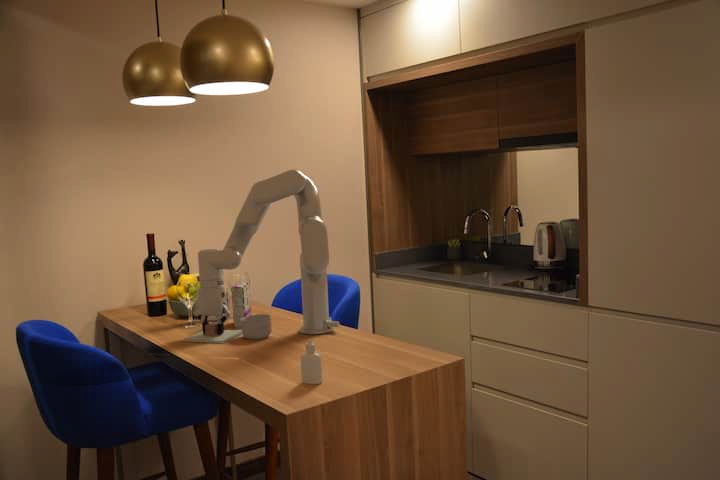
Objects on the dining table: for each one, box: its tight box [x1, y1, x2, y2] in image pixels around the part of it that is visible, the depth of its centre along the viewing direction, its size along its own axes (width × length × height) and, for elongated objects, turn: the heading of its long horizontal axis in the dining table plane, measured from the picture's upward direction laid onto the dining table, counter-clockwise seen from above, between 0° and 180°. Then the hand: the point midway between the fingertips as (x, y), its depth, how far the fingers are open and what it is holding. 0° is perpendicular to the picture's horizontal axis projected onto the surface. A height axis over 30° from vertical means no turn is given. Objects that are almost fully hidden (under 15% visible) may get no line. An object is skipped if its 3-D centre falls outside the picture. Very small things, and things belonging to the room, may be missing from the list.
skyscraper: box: [207, 269, 233, 322], centre depth 259 cm, size 8×8×28 cm
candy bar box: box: [230, 281, 252, 329], centre depth 246 cm, size 11×5×16 cm, turn 179°
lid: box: [183, 321, 242, 344], centre depth 228 cm, size 15×15×5 cm
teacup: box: [240, 313, 273, 341], centre depth 227 cm, size 14×11×8 cm
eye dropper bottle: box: [300, 339, 323, 385], centre depth 174 cm, size 4×6×12 cm
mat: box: [180, 333, 243, 345], centre depth 228 cm, size 17×17×1 cm
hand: (213, 333), depth 228 cm, fingers open, 5 cm apart
